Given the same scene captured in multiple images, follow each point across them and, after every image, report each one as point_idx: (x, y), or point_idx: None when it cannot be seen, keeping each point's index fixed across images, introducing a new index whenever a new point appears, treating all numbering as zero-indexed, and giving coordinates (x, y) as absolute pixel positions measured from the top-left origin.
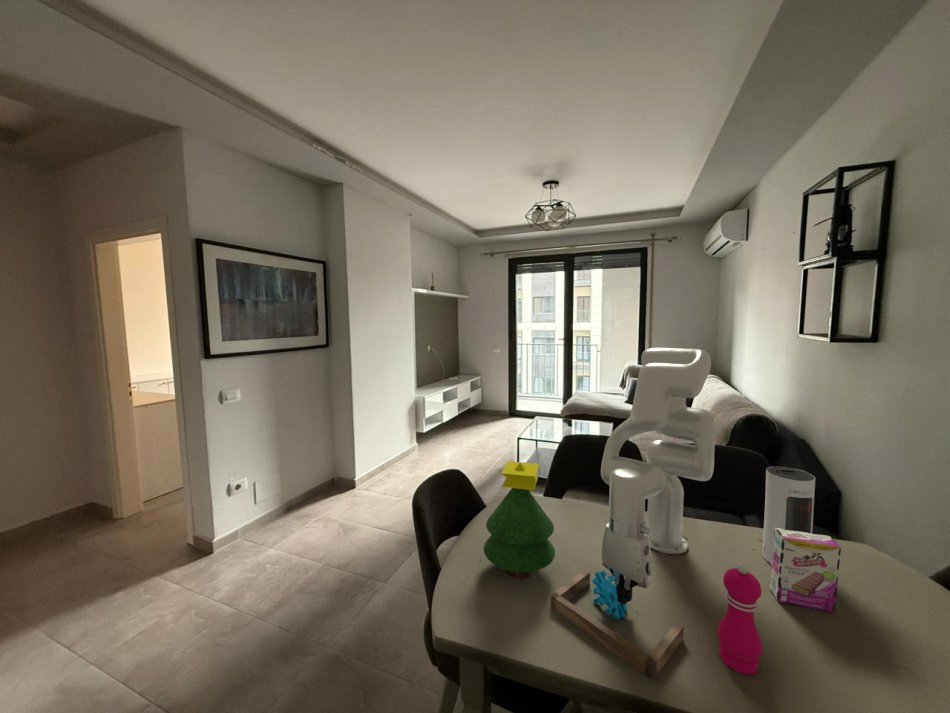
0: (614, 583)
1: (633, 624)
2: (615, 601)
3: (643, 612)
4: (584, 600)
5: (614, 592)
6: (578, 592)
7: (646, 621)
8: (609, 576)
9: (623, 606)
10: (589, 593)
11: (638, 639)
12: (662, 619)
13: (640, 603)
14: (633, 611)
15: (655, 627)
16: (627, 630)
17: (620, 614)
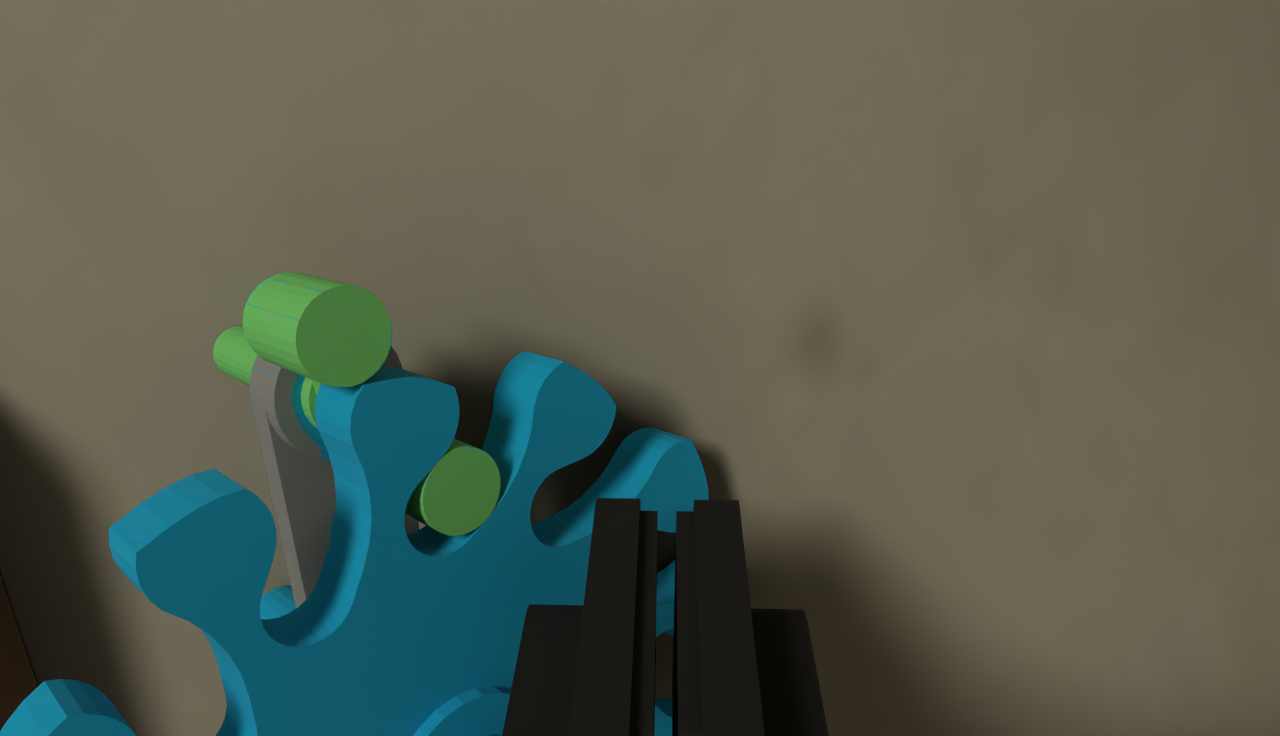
0: (276, 364)
1: (875, 576)
2: None
3: (899, 265)
4: (178, 662)
5: (473, 656)
6: (9, 605)
7: (1002, 404)
8: (162, 604)
9: (659, 526)
10: (105, 510)
11: (1014, 725)
12: (1209, 176)
13: (775, 95)
14: (768, 362)
15: (1147, 416)
16: (855, 701)
17: None
